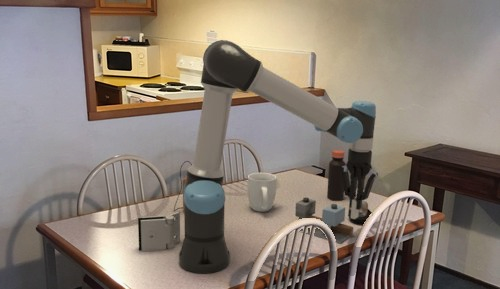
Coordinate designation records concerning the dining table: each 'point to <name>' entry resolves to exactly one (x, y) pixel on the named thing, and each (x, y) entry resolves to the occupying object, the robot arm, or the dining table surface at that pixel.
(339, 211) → the block
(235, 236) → the dining table surface
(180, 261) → the robot arm
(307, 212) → the trammel beam
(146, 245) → the hinge
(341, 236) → the bolt plate
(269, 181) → the mug
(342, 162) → the bottle
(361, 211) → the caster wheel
